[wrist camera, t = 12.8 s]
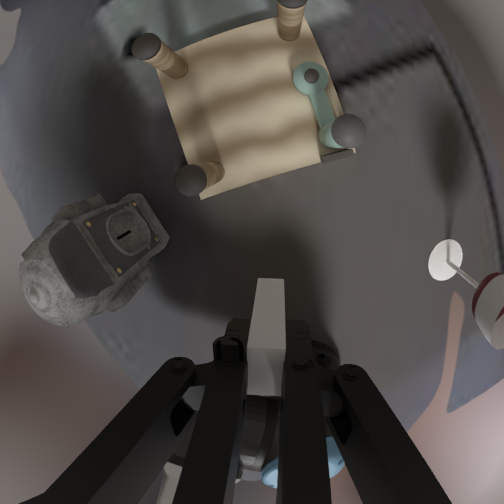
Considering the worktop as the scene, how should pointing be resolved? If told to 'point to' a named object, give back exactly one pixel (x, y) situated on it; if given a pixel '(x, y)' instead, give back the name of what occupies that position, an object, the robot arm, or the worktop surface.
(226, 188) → the stool
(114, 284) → the figurine
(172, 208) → the worktop surface
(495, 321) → the wineglass
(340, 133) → the folding leg
